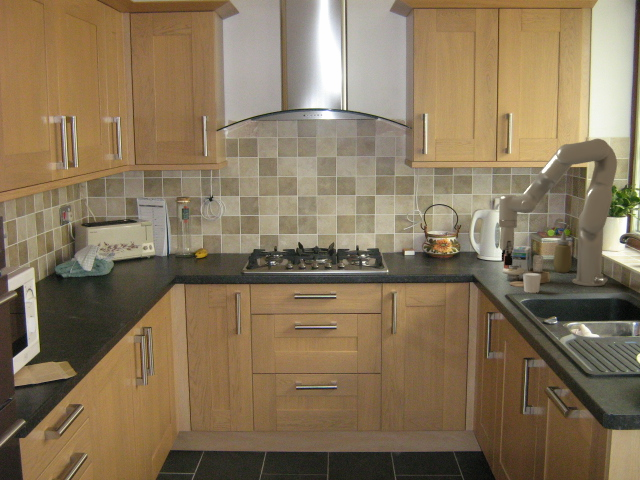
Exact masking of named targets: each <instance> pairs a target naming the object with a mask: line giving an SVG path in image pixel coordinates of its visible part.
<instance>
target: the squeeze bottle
mask: <svg viewBox="0 0 640 480" xmlns="http://www.w3.org/2000/svg"><path fill="white" fill-rule="evenodd" d="M569 242H570V241H569V240H568V239H567V235H566V232H564V231H563V232H561V237H560V239H558V240H557V244H556V245H555V248H554V254H553V255H554V256H553V268H554V271H555V272H556V273H561V274H562V273H563V274H564V273H565V274H566V273H569V272H570V270H571V267H572V264H573V263H572V248H571V245H569Z"/></svg>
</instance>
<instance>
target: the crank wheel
mask: <svg viewBox="0 0 640 480" xmlns="http://www.w3.org/2000/svg"><path fill="white" fill-rule="evenodd" d="M502 273H503V274H504V275H508V274H510V275H523V274H524V273H525V269H523V268H518V267H517V266H513V265H505V254H504V261H503V268H502Z"/></svg>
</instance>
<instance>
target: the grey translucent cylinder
mask: <svg viewBox="0 0 640 480" xmlns="http://www.w3.org/2000/svg"><path fill="white" fill-rule="evenodd" d="M532 259H533V261H532V262H533V263H532V265H533V266H532V271H533V273H542V271H543V265H544V264H543V263H544V256H543V255H539V254H538V255H537V254H534V255H533V257H532Z"/></svg>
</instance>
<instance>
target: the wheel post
mask: <svg viewBox="0 0 640 480" xmlns="http://www.w3.org/2000/svg"><path fill="white" fill-rule="evenodd" d="M520 277H521V276H520V275H510V274H507V277H506V278H507V280H506V281H507V282H508V281H509V282H516V281H520Z"/></svg>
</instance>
